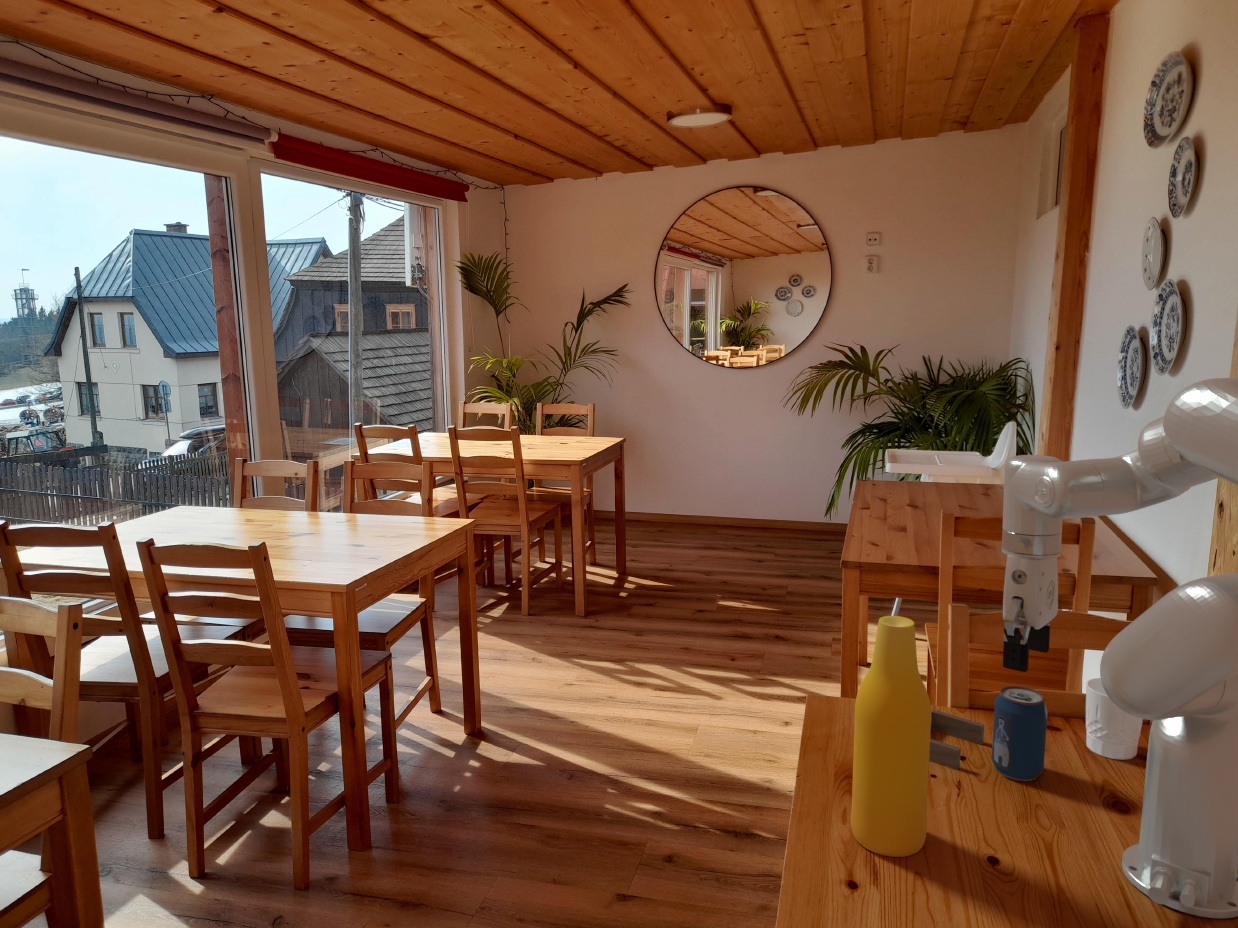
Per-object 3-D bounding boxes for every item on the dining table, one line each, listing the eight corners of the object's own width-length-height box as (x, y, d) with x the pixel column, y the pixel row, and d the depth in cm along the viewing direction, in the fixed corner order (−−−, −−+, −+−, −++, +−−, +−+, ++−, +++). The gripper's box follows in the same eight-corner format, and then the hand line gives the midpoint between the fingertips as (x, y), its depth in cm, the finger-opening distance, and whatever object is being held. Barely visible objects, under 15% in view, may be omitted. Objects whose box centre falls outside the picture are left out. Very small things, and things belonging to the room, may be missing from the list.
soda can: (1047, 768, 124) (1052, 691, 122) (1037, 788, 119) (1043, 708, 117) (997, 754, 128) (1001, 680, 126) (985, 773, 123) (990, 696, 121)
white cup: (1090, 759, 127) (1095, 696, 125) (1075, 734, 134) (1079, 675, 132) (1148, 764, 125) (1154, 701, 123) (1130, 739, 132) (1135, 679, 131)
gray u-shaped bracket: (957, 769, 124) (958, 750, 123) (898, 749, 130) (899, 731, 129) (983, 742, 132) (984, 724, 132) (927, 724, 138) (927, 707, 137)
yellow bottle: (913, 868, 101) (924, 640, 97) (839, 842, 107) (846, 625, 102) (934, 830, 109) (945, 617, 104) (864, 808, 114) (871, 604, 110)
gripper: (1041, 558, 109) (1035, 684, 111) (1077, 535, 122) (1071, 649, 124) (982, 550, 114) (978, 671, 116) (1022, 529, 127) (1018, 638, 129)
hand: (1026, 659), depth 120 cm, fingers open, 9 cm apart
